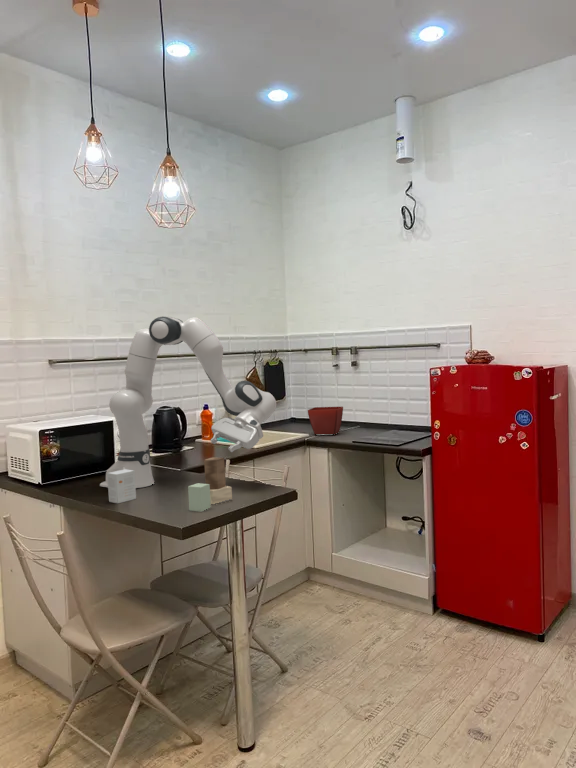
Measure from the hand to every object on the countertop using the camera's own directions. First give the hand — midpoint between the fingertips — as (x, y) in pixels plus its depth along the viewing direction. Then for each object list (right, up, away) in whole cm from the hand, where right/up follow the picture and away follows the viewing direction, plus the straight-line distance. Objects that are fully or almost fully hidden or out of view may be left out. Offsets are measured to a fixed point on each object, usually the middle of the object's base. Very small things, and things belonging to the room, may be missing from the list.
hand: (220, 446), depth 216 cm
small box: (-35, -19, -6) cm, 40 cm away
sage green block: (-4, -18, -24) cm, 30 cm away
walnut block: (0, -13, -14) cm, 19 cm away
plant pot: (+49, -9, +152) cm, 160 cm away
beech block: (0, -18, -14) cm, 22 cm away
